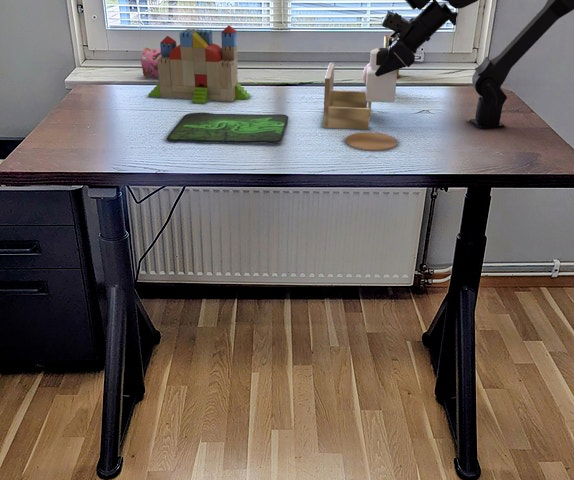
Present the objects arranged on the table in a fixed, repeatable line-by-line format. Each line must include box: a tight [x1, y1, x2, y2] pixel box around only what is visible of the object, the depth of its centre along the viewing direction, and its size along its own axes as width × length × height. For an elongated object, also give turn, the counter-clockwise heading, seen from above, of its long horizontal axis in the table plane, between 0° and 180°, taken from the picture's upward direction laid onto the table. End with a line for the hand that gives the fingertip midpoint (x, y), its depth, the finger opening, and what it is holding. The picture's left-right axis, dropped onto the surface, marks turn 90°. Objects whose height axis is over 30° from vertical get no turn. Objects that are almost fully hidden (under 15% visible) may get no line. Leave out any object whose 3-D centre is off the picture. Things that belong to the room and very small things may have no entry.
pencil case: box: [140, 47, 162, 79], centre depth 198 cm, size 21×9×9 cm, turn 87°
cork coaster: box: [345, 132, 398, 152], centre depth 149 cm, size 12×12×1 cm
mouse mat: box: [166, 112, 289, 144], centre depth 156 cm, size 27×22×1 cm
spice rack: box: [322, 62, 372, 130], centre depth 162 cm, size 12×17×12 cm
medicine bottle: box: [365, 47, 398, 103], centre depth 158 cm, size 7×7×12 cm
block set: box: [148, 25, 251, 104], centre depth 177 cm, size 28×14×19 cm, turn 80°
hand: (376, 71), depth 158 cm, fingers closed on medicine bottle, 7 cm apart
